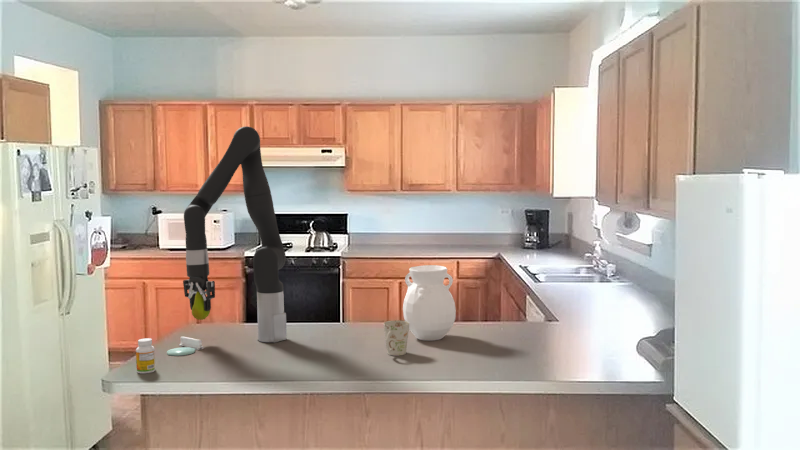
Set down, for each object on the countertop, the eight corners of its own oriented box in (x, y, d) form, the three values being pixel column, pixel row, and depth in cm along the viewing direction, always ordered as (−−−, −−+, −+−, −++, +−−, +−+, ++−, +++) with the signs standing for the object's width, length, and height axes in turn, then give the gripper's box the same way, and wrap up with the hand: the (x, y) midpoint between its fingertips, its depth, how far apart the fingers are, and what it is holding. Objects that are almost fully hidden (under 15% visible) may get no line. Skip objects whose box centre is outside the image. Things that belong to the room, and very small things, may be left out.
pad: (200, 351, 251) (200, 349, 251) (178, 357, 244) (178, 355, 244) (183, 347, 256) (183, 346, 256) (161, 353, 249) (161, 351, 249)
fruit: (214, 318, 263) (212, 284, 262) (198, 321, 258) (196, 287, 257) (203, 316, 267) (201, 283, 266) (188, 320, 262) (186, 285, 262)
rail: (203, 348, 255) (203, 339, 255) (197, 349, 253) (197, 341, 253) (184, 344, 261) (184, 336, 261) (179, 345, 259) (178, 337, 259)
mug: (412, 351, 248) (412, 321, 247) (400, 360, 236) (400, 329, 235) (389, 349, 251) (388, 319, 250) (375, 358, 239) (375, 327, 238)
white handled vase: (395, 341, 262) (394, 270, 260) (414, 330, 279) (413, 263, 277) (446, 345, 255) (445, 272, 253) (462, 334, 272) (462, 265, 270)
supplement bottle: (139, 369, 230) (138, 337, 229) (157, 368, 231) (156, 337, 230) (134, 374, 225) (133, 342, 224) (153, 373, 225) (151, 341, 225)
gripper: (220, 261, 260) (223, 309, 261) (192, 260, 268) (195, 306, 270) (203, 264, 254) (206, 313, 255) (175, 263, 262) (178, 310, 263)
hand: (200, 309), depth 262 cm, fingers closed on fruit, 6 cm apart
